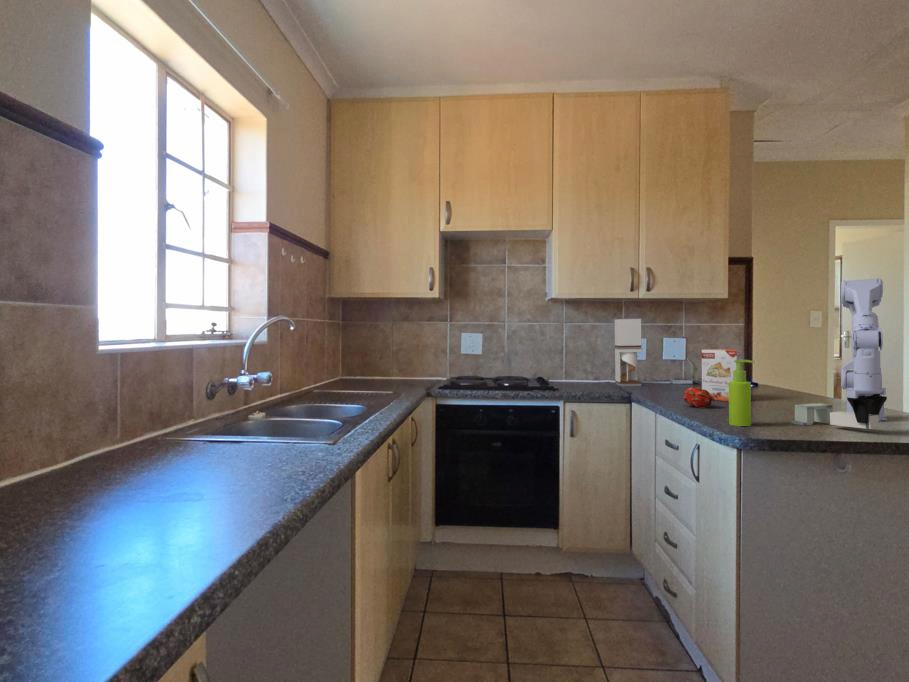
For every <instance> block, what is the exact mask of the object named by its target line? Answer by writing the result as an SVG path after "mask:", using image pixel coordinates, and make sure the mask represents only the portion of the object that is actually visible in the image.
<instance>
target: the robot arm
mask: <svg viewBox="0 0 909 682" xmlns="http://www.w3.org/2000/svg"><path fill="white" fill-rule="evenodd" d="M883 283H884V282H883V279H881V277H879V278H871V279H869V278H868V279H854V280H853V279H851V280H846V279H845V280H842V281H841V283H840V297H841V298H840V299H841V304H842V307H844V308H846V309H849V311H850V314H851V335H850V337H851V339H850V343H851V349H852V350H851V351H852V354H851V355H852V358H851V359H850V360H849V361H847V362H845V363H844V364H843V365H842V366H841V370H840V371H841V373H840V374H841V375H840V376H841V379H840V380H841V381H840V382H841V383H840V384H841V385H840V387H841V389H843V390H845V392H846V412H851V413H854V414H855V417H856V420H857V423H864V424H867V422H868V418H869V414H873V415H878V420H879V422H880V421H881V420H882V421H887V420H888V418H885V402H887V399H888V398H887V397H888V396H885V395H886V394H887V392H886V391H887V389H886V387H883V386H882V385H883V375H882V368H881V351H882V349H883V345H884V337H883V332H882V329H881V327H879V318H878V317H879V316H878V315H877V313H876V312H874V311H873V308H875V307H878V306H880V303H881V302H882V298H883V292H884V284H883Z"/></svg>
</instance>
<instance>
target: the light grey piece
mask: <svg viewBox="0 0 909 682" xmlns="http://www.w3.org/2000/svg"><path fill="white" fill-rule="evenodd" d="M638 353H642V319H641V318H621V319H619V318H617V319H614V368H615V369H614V371H615V372H614V377H615V378H614V379H615V380H614V381H615V382H614V383H616V384H617V386H618V385H619V387H642V386H643V381H640V380H639V379H638ZM616 384H615V385H616Z"/></svg>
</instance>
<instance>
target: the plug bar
mask: <svg viewBox="0 0 909 682" xmlns="http://www.w3.org/2000/svg"><path fill="white" fill-rule="evenodd" d="M879 422H880V421H879V420H878V415H873V414H869V418H868V422H867V424H864V423H857V420H856V417H855V414H854V413H851V412H847V411H841V410H840V411H832V412H830V423H829V425H831V426H840V427H847V428H849V427H850V428H857V429H866V430H875V429H879V428H880V425H879V424H880V423H879Z"/></svg>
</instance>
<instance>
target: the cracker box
mask: <svg viewBox="0 0 909 682" xmlns="http://www.w3.org/2000/svg"><path fill="white" fill-rule="evenodd" d="M743 358H744V357H743V350H742V349H728V348H727V349H725V348H722V349H721V348H714V349H713V348H706V349H705V348H704V349H701V388H702V390H707V391H708V392H709V393H710V395H712V396H713V397H714V401H720V402H721V401H723V402H729V382H731V381H733V371H735V370H736V362H734V360H744V359H743Z"/></svg>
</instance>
